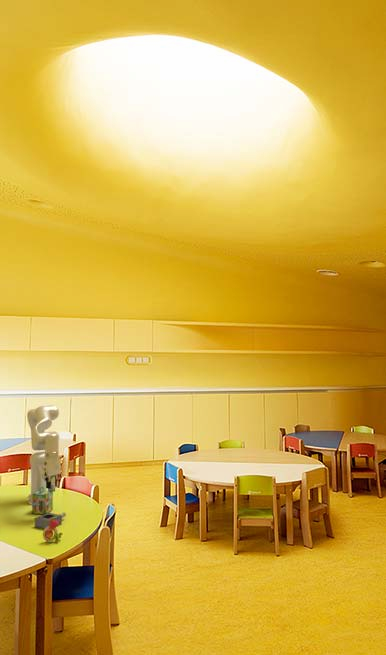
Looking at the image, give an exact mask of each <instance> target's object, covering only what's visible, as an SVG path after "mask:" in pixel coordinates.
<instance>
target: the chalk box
mask: <svg viewBox="0 0 386 655" xmlns="http://www.w3.org/2000/svg"><path fill="white" fill-rule="evenodd" d="M39 489H40V491H38V492H36V493H34V494H32V505H31V506H32V507H31V509H32V511H31V514H32V515H44V514H46V513H51V511H53V510H54V504H53V503H54V492H48V490H46V491H44V487H43V486H42V487H40V488H39ZM41 489H43V491H41Z"/></svg>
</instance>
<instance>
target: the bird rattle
mask: <svg viewBox="0 0 386 655" xmlns="http://www.w3.org/2000/svg"><path fill="white" fill-rule="evenodd" d="M49 524H50V525H51V526H48V527H46V528H45V529H43V531H42V538H43V539H44V540H45V542H46V544H47V543H50V542H54V541H55V542H56V544H57V543H59V542H60V539H61V538H62V536H63V532H58V529H57V527H59V526H60V525H59V524H58V520H57V521H54V520H52V521H51V520H50V521H49Z"/></svg>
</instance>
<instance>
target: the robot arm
mask: <svg viewBox="0 0 386 655" xmlns="http://www.w3.org/2000/svg"><path fill="white" fill-rule="evenodd" d="M59 414H60V412H59V408H58V407H57V405H54V404H53V405H42V406H38V407H36V408H33V409H32V408H31V409H29V410H28V411H27V414H26V416H27V417H26V419H27V423H28V425H29V427H30V437H31V439H30V440H31V448H32V451H39V452H34V453H32V454H31V455H30V457H29V465H30V494H29V495H27V498H28V499H29V500H28V501H27V504H28V505H30V506H32V494H34V493H36V492H38V491H40V489H39V488H40V487H42V486H43V487H44V491H47V490H48V489H51V481H50V478H51V476H54V475H55V488H57V487H58V479H59V477H60V475H61V474H62V463H61V457H60V456H59V455H60V454H59V443H60V442H59V441H60V435H59V434H58V432H57V431H46V430H48V429H50V428H51V426H52V425H53V421H55V420H56V419H57V418H58V417H59ZM40 451H41V452H40ZM41 491H43V489H41Z"/></svg>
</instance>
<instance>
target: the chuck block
mask: <svg viewBox="0 0 386 655" xmlns="http://www.w3.org/2000/svg"><path fill="white" fill-rule="evenodd" d="M66 516H67V513H66V512H61V513H60V514H59V513H53V512H48V513H46V514H40V515H38V516H36V517H34V528H37V529H41V530H44V529H45V528H46V527H48V526H51V525H50V524H49V521H50V520H51V521H52V520H54V521H57V520H58V524H59V526H60V525H62V524H63V518H65V517H66Z"/></svg>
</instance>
